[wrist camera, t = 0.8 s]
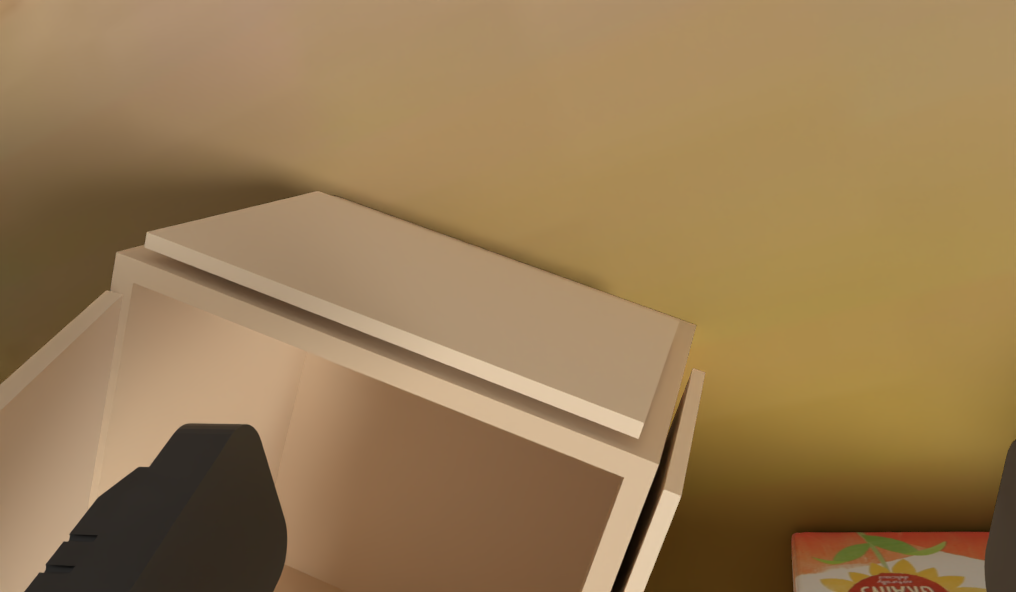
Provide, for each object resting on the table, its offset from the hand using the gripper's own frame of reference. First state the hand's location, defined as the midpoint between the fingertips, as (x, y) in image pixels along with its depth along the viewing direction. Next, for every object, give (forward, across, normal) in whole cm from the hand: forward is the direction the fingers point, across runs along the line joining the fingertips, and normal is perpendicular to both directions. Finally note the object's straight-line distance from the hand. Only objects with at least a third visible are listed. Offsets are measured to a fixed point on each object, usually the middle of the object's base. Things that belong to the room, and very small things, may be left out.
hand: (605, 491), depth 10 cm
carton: (+18, +8, +15) cm, 25 cm away
